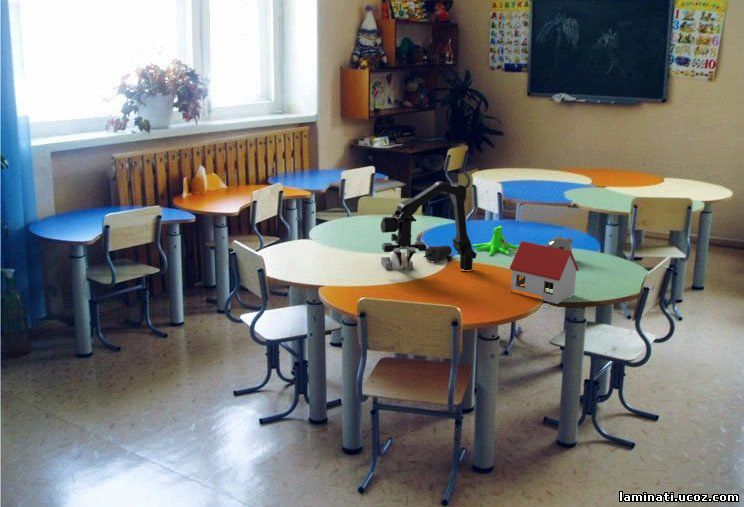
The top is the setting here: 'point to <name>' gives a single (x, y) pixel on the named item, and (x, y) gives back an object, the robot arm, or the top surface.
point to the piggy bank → (561, 243)
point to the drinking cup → (437, 252)
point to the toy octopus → (496, 243)
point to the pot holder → (386, 263)
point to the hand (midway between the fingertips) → (403, 265)
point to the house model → (544, 271)
